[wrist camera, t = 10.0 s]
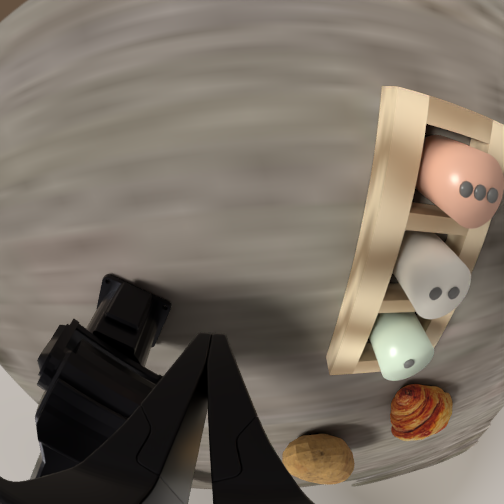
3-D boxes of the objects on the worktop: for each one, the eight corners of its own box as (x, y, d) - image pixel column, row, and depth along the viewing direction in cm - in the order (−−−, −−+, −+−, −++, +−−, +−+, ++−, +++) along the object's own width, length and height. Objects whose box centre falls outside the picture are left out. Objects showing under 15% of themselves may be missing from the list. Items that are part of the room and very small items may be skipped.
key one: (402, 337, 27) (420, 378, 23) (359, 339, 27) (374, 385, 22) (419, 299, 25) (443, 341, 20) (374, 300, 25) (395, 346, 20)
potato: (319, 412, 35) (326, 464, 28) (362, 436, 40) (370, 476, 33) (262, 434, 38) (263, 481, 31) (313, 454, 43) (316, 492, 36)
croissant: (440, 395, 41) (470, 414, 34) (405, 438, 40) (433, 461, 33) (405, 351, 33) (450, 377, 26) (356, 412, 32) (395, 447, 25)
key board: (415, 350, 29) (423, 366, 27) (325, 356, 29) (329, 375, 27) (492, 122, 16) (511, 128, 14) (382, 86, 16) (397, 86, 14)
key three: (452, 200, 20) (493, 232, 15) (403, 193, 20) (442, 226, 15) (464, 142, 17) (512, 162, 13) (415, 128, 17) (461, 145, 12)
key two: (427, 278, 24) (456, 318, 19) (381, 277, 24) (406, 322, 19) (444, 228, 21) (481, 264, 16) (396, 223, 21) (430, 262, 16)
